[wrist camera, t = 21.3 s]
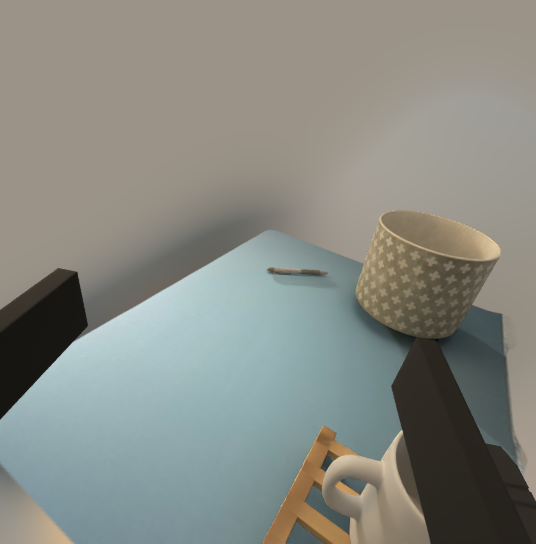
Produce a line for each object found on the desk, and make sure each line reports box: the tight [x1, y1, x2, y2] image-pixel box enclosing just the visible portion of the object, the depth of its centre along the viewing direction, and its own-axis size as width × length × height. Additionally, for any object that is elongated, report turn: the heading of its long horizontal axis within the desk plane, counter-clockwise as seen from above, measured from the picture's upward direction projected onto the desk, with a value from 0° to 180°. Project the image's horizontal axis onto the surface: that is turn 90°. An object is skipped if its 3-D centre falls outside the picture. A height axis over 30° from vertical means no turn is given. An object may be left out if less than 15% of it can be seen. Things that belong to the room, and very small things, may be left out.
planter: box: [355, 210, 501, 339], centre depth 58 cm, size 19×19×18 cm
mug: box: [322, 431, 431, 544], centre depth 24 cm, size 12×8×11 cm
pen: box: [267, 268, 328, 275], centre depth 71 cm, size 1×14×1 cm, turn 96°
